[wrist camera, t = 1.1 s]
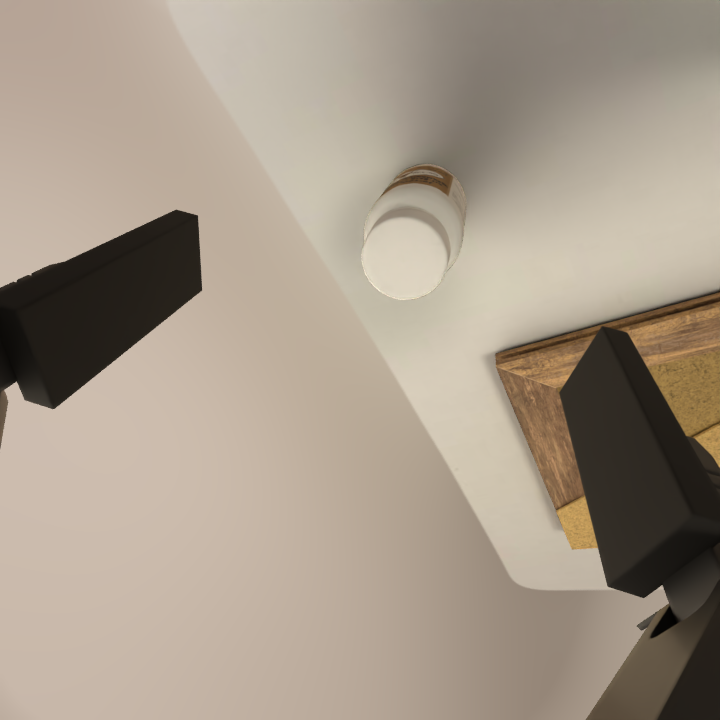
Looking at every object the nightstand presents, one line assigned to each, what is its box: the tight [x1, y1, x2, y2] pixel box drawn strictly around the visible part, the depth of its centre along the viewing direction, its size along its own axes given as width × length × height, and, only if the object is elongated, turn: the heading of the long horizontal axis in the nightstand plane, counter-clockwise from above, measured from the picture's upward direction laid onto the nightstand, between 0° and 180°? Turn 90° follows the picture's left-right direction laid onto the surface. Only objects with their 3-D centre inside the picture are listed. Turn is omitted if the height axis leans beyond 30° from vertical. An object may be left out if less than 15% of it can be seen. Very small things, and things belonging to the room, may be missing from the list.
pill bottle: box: [361, 164, 466, 300], centre depth 19 cm, size 4×4×8 cm
